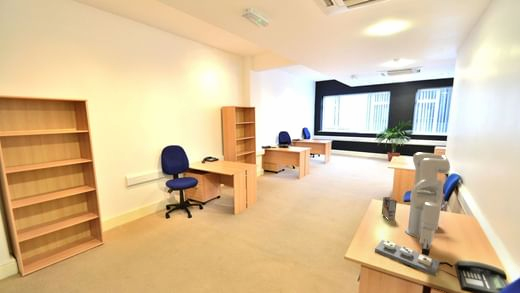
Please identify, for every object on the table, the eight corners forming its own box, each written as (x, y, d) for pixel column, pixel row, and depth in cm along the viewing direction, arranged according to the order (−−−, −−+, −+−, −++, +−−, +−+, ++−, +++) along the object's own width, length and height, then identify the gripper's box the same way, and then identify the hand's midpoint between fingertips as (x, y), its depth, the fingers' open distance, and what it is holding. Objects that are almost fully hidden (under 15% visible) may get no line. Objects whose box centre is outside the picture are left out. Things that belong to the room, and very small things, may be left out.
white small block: (401, 251, 136) (402, 245, 136) (412, 255, 132) (413, 249, 132) (399, 255, 132) (399, 249, 132) (410, 259, 128) (411, 253, 128)
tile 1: (419, 260, 130) (419, 254, 129) (431, 264, 126) (431, 258, 126) (417, 264, 126) (417, 258, 126) (429, 269, 122) (430, 263, 122)
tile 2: (385, 245, 142) (386, 239, 142) (395, 249, 138) (396, 243, 138) (382, 248, 138) (383, 243, 138) (392, 252, 135) (393, 247, 134)
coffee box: (395, 219, 182) (397, 200, 180) (387, 219, 182) (389, 201, 179) (388, 214, 191) (389, 196, 189) (381, 214, 191) (382, 197, 188)
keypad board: (382, 242, 148) (382, 239, 148) (439, 264, 127) (439, 261, 127) (374, 251, 138) (375, 248, 138) (435, 276, 117) (435, 272, 117)
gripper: (423, 217, 131) (419, 245, 134) (418, 226, 120) (414, 257, 123) (439, 222, 126) (435, 251, 129) (435, 232, 115) (431, 264, 118)
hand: (425, 254), depth 126 cm, fingers closed
